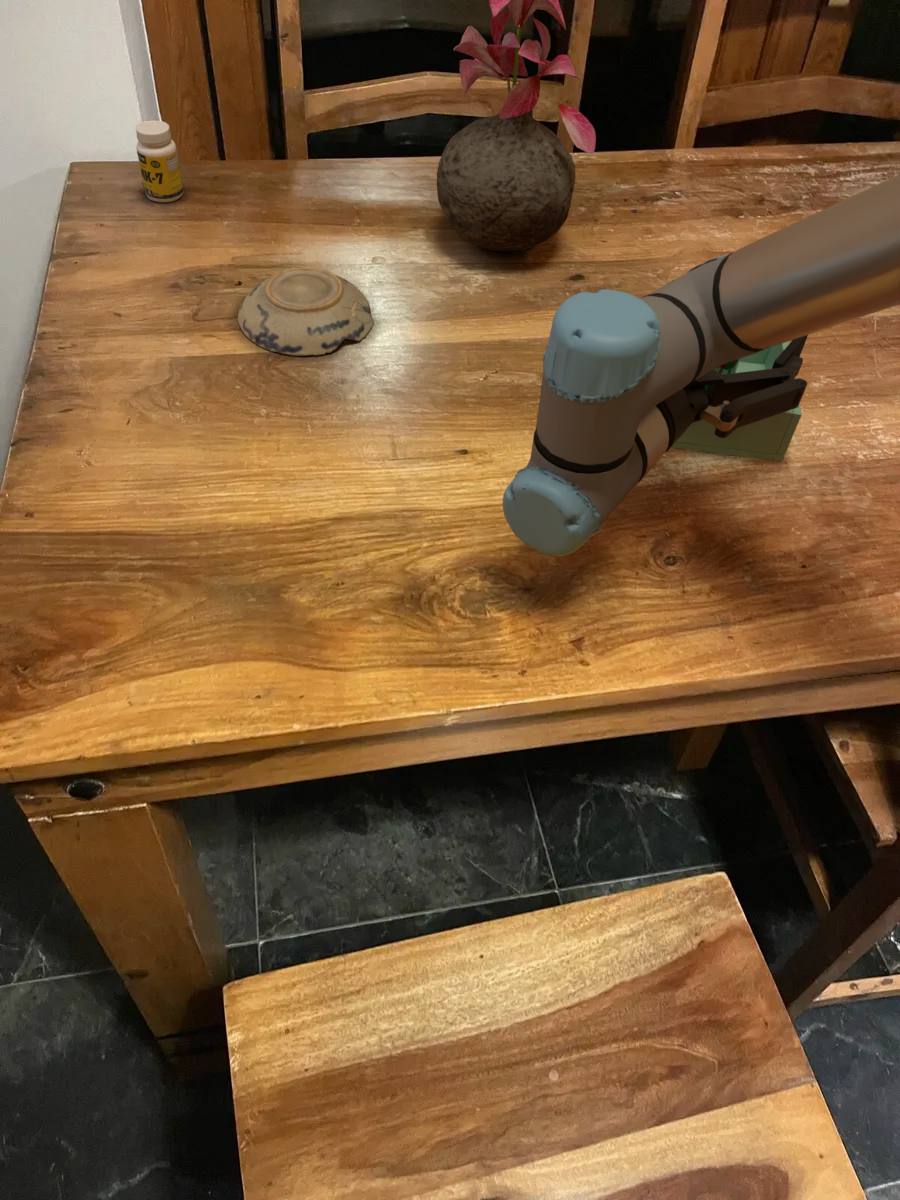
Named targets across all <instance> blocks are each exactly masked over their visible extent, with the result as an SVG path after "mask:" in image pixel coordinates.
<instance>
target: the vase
mask: <svg viewBox="0 0 900 1200" xmlns="http://www.w3.org/2000/svg"><path fill="white" fill-rule="evenodd" d="M488 3H489V7H490V10H491V18H490V34H491V35H490V36H491V37H492V41H493V43H494V44H488V43H487V41H486V40H485V38H484V37H483V36H482V35H481V34H480V32H479V31H478V30H477V29H476V28H474V27H473V26H472V25H469V26H467V28H466V29H465V31H464V33H463V35H462V37H461V39H460V42H459V44H458V45H456V46H454V48H452V49H453V51H455V52H459V53H463V54H465V55H468V56H470V57H472V58H474V59H466V58H465V59H462V60H459V75H460V83H461V87H462V91H463V94H464V96H467V95H466V94H467V93H468V91H469V90H470V88H471V87H472V86H473V84H474V83H476V81H477V80H478V79H480V78H482V77H485V76H487V77H492V78H496V79H499V80H501V81H504V82H505V81H506V83H507V88H506V89H507V94H506V97H505V98H504V101H503V103H502V105H501V109H500V111H499V113H497V114H495V115H492V116H488V117H483V118H480V119H476V120H474V121H473V122H471V123H468V125H466V126H465V127H463V128H462V129H460V130H459V131H457V132H456V133H455V134H453V136H452V137H451V138H450V139H448V140H449V141H448V142H447V144H446V145H445V147H444V149H443V152H442V154H441V155H440V159H439V162H438V165H437V169H436V192H437V193H436V194H437V201H438V204H439V205H440V208H441V210H442V211H441V212H442V213H443V216H444V218H445V220H446V223H447V225H448V227H449V228H450V229H451V230H452V231H453V232H455V233H456V234H457V235H458V236H459V237H460V238H462V239H463V240H465V241H466V242H468V243H470V244H471V245H474V246H476V247H477V248H478V249H479V250H481V252H485V253H487V254H490V255H498V256H509V255H510V256H511V255H515V254H519V253H522V251H524V250H527V249H530V248H533V247H536V246H539V245H541V244H544V243H547V242H548V241H549V240H550V239H551V238H553V237H554V236H555V235H556V234H557V233H558V232H559V231H560V230H561V228H562V227H563V225H564V224H565V221H567V219H568V215H569V212H570V209H571V204H572V199H573V195H574V189H575V184H576V165H575V161H574V159H573V157H572V154H571V153H570V152H569V150H568V148H567V147H566V145H565V143H564V142H563V141H562V140H561V139H560V137H559V136H558V135H557V134H555V133H554V132H553V130H550V128H548V127H547V126H545V125H544V124H543V123H541V122H540V121H538V120H537V119H535V118H534V115H533V110H534V108H535V107H536V105H537V104H538V101H539V98H540V94H541V77H545V76H552V75H567V76H570V77H572V78H575V79H578V80H580V81H582V78H581V77H579V76H578V75H576V72H575V69H574V66H573V64H572V61H571V59H570V57H569V56H568V54H563V53H562V54H560V55H557V56H556V57H554V58H553V59H552V60H551V61H550V60H547V58H548V55H549V53H550V50H551V34H550V32H549V28H547V27H546V25H545V24H544V23H543V22H541V20H538V19H537V18H535V17H533V16H532V14H533V13H534V12H535V11H536V10H542V11H545V12H547V13H548V14H550V15H551V16H553V17H554V18H555V20H557V22H558V23H559V24H560V25H561V26H562V27H563V29H564V30H565V31H567V28H566V22H565V19H564V18H565V17H564V14H563V11H562V9H561V4H560V2H559V0H488ZM507 7H508V10H509V11H505V8H507ZM530 16H532V17H531V18H532V21H533V23H534V24H535V28H536V29H537V31H538V34H539V37H540V38H539V39H540V41H541V42H539V40H537V39H535V40H532V39H531V38H529V39H524V41H523V42H522V43H521V39H522V28H523V26H524V25H525V23H526V22H527V20H528V19H529V17H530ZM511 17H512V21H513V23H514V24H513V25H514V27H515V28H516V34H515V33H513V32H511V31H509V32H507V33H506V34H504V37H503V39H502V36H503V33H504V29H505V27H506V25H507V23H508V22H509V19H510V18H511ZM524 58H526V59H528V60H530V61H531V62H534V63H537V64H538V65H537V66H538V70H537V73H536V75H532V76H529V73H528V70H527V67H526V64H525V61H524V60H525V59H524ZM510 76H512V83H511V78H510ZM518 76H521V77H525V78H524V79H522V80H520V81H517V79H518ZM557 106H558V110H559V113H560V116H561V119H562V121H563V125H564V126H565V129H566V131H567V133H568V135H569V137H570V140H571V141H572V143H573V144H574V146H575V147H576V148H578V149H580V150H581V151H583V152H585V153H588V154H591V155H593V154H594V153H595V149H596V143H597V142H596V141H597V136H596V130H595V128H594V126H593V124H592V123H591V122H590V121H589V119H588V118H587V117H586V116H584V115H583V113H581V112H580V111H579V110H578V109H576V108H574V107H571V106H570V105H566V104H563V103H559V104H558V105H557Z"/></svg>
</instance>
